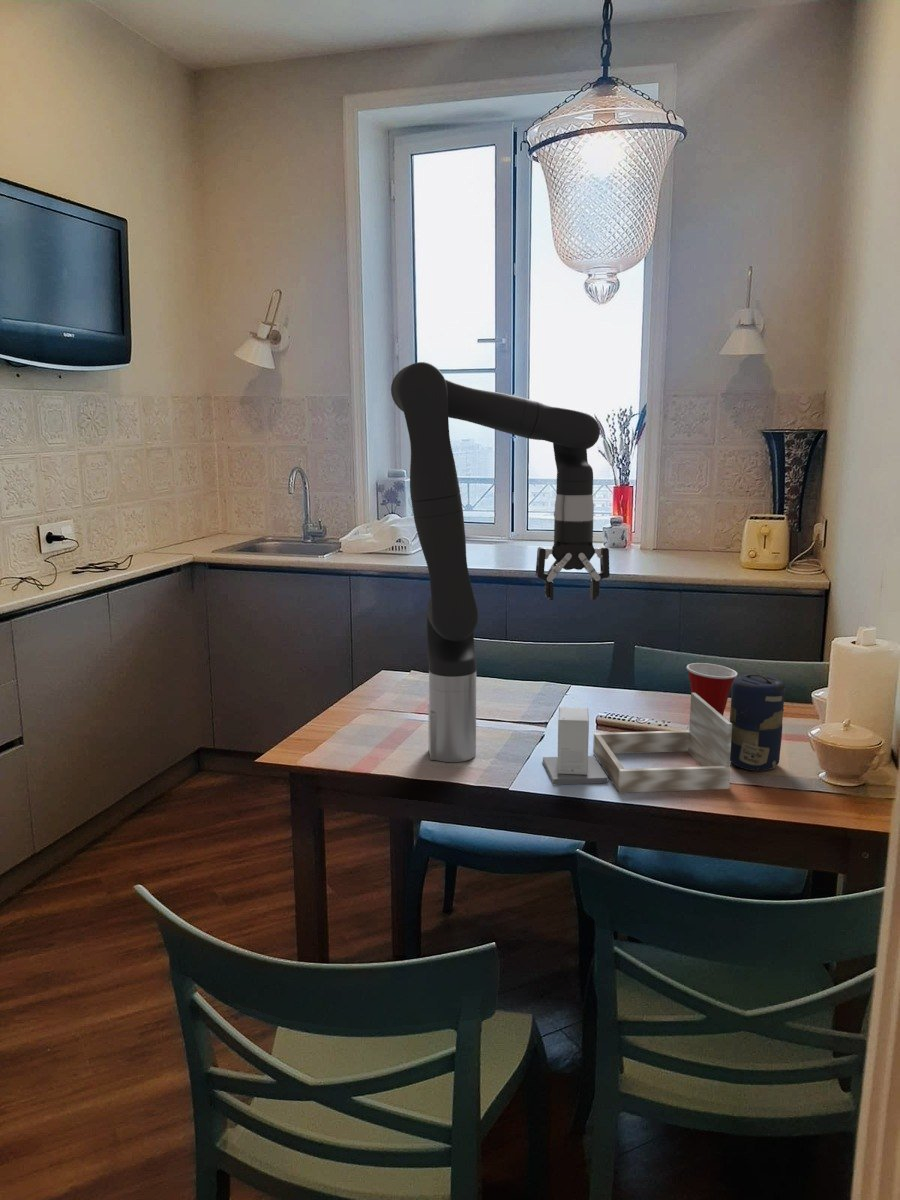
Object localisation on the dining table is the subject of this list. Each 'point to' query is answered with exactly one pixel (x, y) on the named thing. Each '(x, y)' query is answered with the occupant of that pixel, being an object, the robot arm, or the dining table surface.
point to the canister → (756, 721)
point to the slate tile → (593, 774)
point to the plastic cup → (711, 683)
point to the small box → (573, 740)
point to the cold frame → (701, 740)
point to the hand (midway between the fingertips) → (571, 599)
